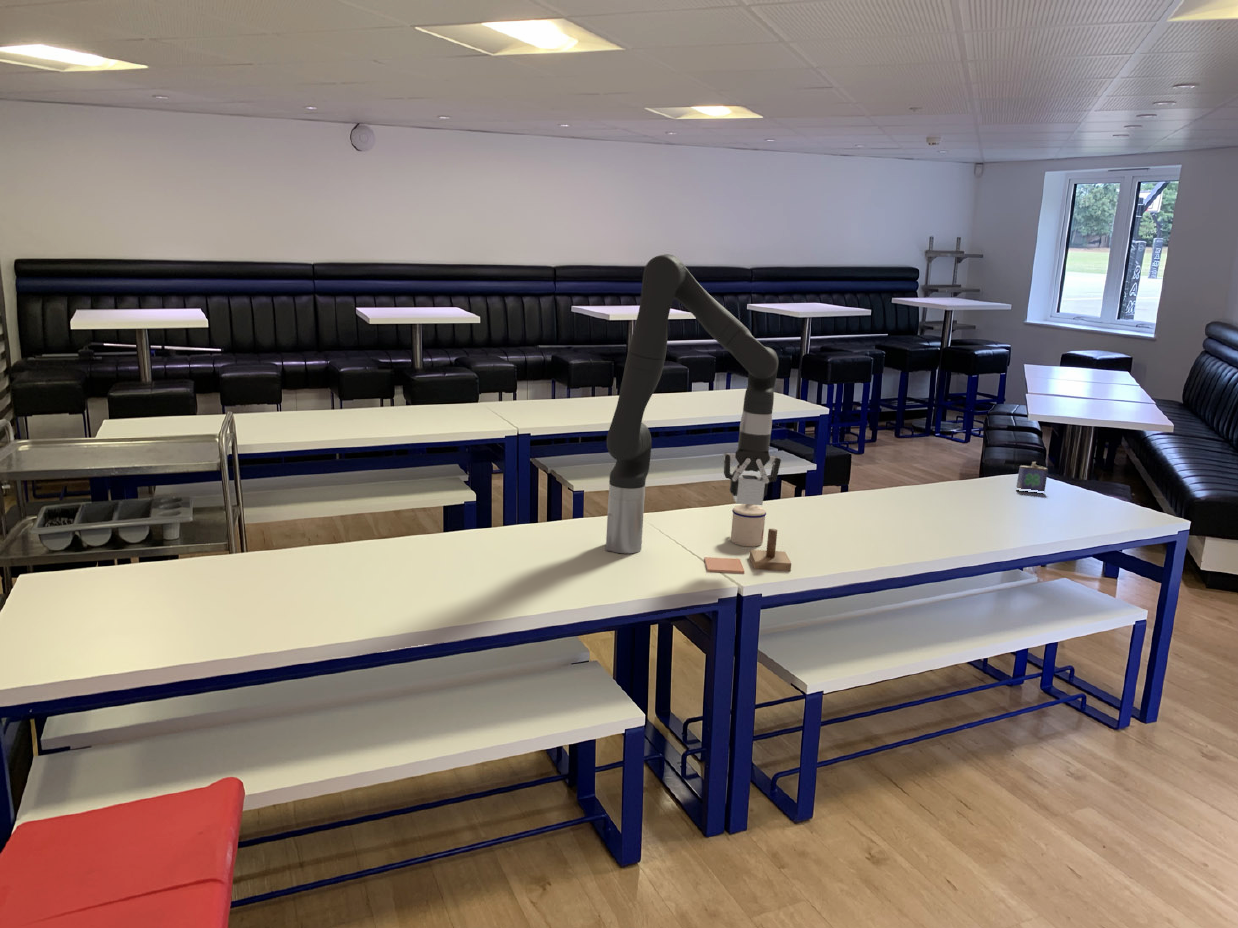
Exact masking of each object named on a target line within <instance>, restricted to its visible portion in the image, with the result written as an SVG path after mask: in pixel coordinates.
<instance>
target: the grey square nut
mask: <svg viewBox="0 0 1238 928" xmlns="http://www.w3.org/2000/svg"><path fill="white" fill-rule="evenodd" d="M764 488H765V481H764V479H763V478H762V477H761V474H754V473H742V474H741V475H740V476H739V478H738V479H737V489H736V496H733V495H732V498H733V500H734V502H735V504H739V505H742V504H751V505H757V506H763V503H764V498H763V496H764ZM764 497H765V496H764Z"/></svg>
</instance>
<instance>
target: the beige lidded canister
mask: <svg viewBox="0 0 1238 928" xmlns="http://www.w3.org/2000/svg"><path fill="white" fill-rule="evenodd" d="M766 515H767V511H766V509H765V508H763V507H761V506H760V505H751V504H739V505H735V506H734V507H732V518H731V519H732V521H731V532H730V541H731V542H732V543H733V544H735V545H738V546H742V547H750V548H751V547H758V546H759V547H760V546H761V545H762V544H763V542H764V533H765V523H766V522H765V521H766Z"/></svg>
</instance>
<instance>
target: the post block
mask: <svg viewBox="0 0 1238 928" xmlns="http://www.w3.org/2000/svg"><path fill="white" fill-rule="evenodd" d="M767 531H768V532H767V540H766V541H767V544H766V550H764V549H763V550H762V549H750V550H749V559H750V562H751V564H752V566H753V569H754V570H763V571H765V570H766V571H767V570H768V571H783V572H787V571H788V572H791V571H792V562H791V560H790V557H788V555H787V553H786V551H785V550H784V551H782V550H776V547H777V538H778V529H775V528H768V530H767Z"/></svg>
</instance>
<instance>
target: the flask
mask: <svg viewBox="0 0 1238 928" xmlns="http://www.w3.org/2000/svg"><path fill="white" fill-rule="evenodd" d="M1036 463H1037V461H1032V462H1031V465H1020V466H1019V469H1018V475H1017V480H1016V481H1017V482H1016V487H1017V488H1021V489H1031V490H1038V491H1044V492H1045V491H1046V490H1045V489H1046V484H1047V478H1048V472H1049V469H1048V468H1047V467H1045V466H1042V465H1037V464H1036Z"/></svg>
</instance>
